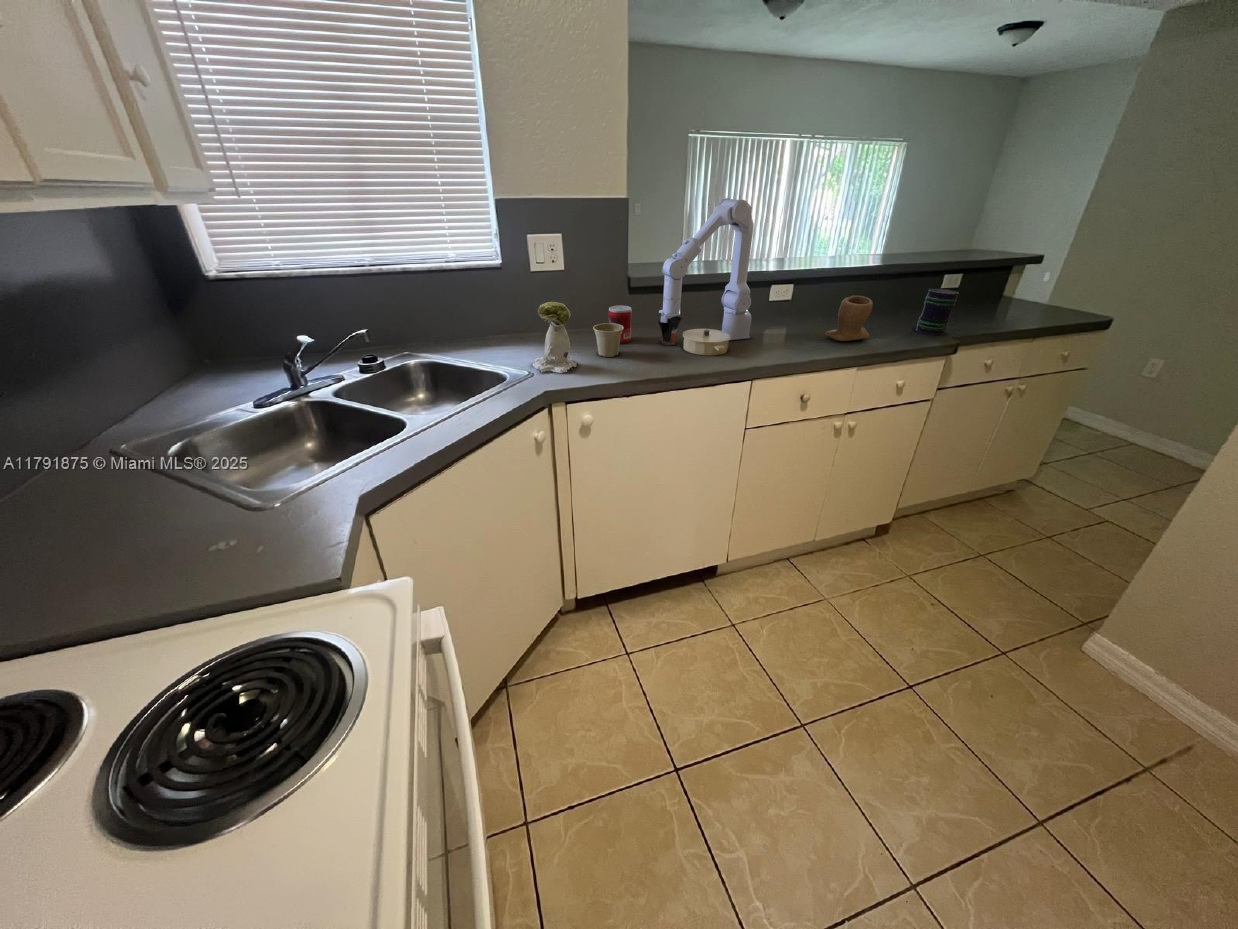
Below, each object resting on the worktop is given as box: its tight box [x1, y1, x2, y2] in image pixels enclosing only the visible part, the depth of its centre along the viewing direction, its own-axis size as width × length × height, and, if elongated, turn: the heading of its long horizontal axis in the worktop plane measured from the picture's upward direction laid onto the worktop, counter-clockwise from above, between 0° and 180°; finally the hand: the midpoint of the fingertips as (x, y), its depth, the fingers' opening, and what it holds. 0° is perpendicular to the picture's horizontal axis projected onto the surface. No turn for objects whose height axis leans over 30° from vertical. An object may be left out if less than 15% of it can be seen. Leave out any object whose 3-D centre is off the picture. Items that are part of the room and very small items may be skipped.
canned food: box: [608, 304, 633, 345], centre depth 165 cm, size 8×8×11 cm
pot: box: [682, 336, 730, 356], centre depth 161 cm, size 15×20×4 cm
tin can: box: [660, 327, 678, 346], centre depth 165 cm, size 5×5×5 cm
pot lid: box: [682, 328, 731, 344], centre depth 159 cm, size 16×16×3 cm
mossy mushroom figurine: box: [532, 301, 578, 374], centre depth 139 cm, size 12×13×18 cm
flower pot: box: [592, 322, 624, 358], centre depth 152 cm, size 9×9×9 cm
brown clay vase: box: [825, 295, 873, 342], centre depth 170 cm, size 15×12×15 cm
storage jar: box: [915, 287, 960, 336], centre depth 182 cm, size 10×10×15 cm
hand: (669, 339), depth 165 cm, fingers closed on tin can, 5 cm apart
